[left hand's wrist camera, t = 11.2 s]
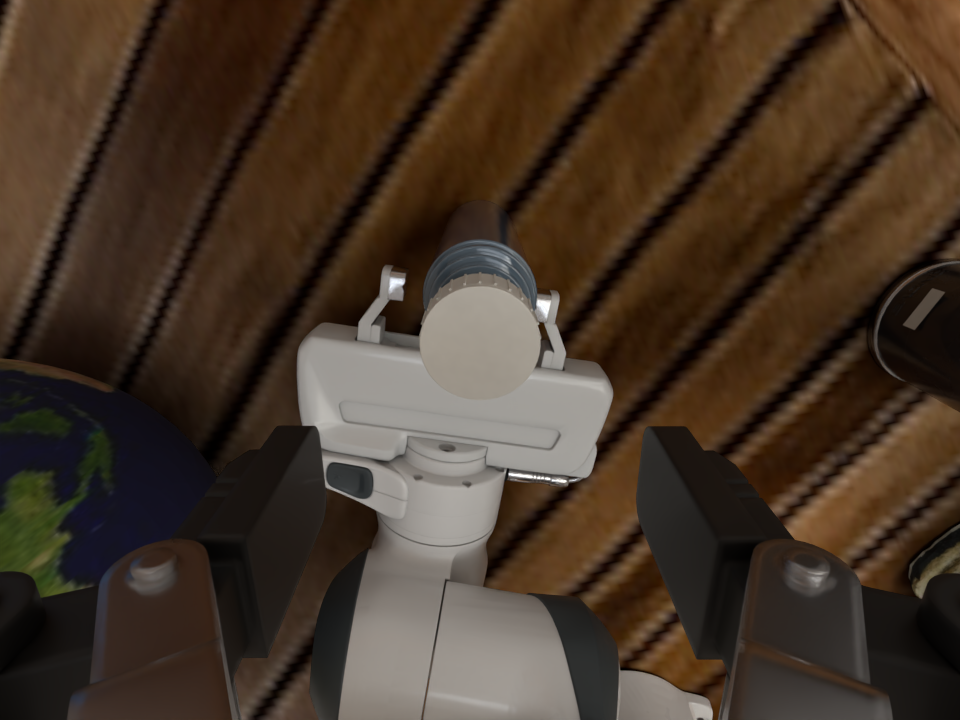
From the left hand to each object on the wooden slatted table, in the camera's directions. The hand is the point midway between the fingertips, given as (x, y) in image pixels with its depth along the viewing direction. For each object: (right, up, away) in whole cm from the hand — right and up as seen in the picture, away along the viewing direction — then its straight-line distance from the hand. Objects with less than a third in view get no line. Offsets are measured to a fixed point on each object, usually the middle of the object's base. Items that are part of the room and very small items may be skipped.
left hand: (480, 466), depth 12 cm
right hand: (0, +7, +23) cm, 24 cm away
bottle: (0, +11, +29) cm, 31 cm away
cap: (0, +3, +7) cm, 8 cm away
